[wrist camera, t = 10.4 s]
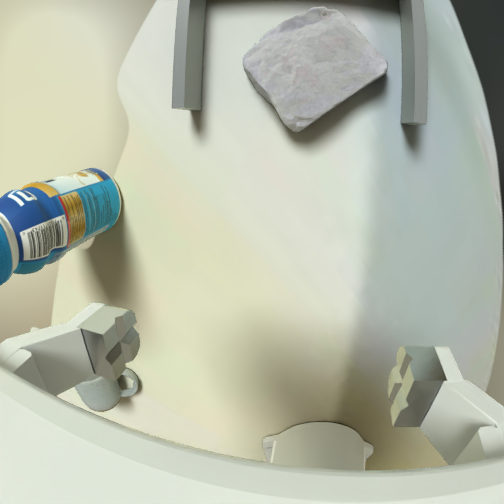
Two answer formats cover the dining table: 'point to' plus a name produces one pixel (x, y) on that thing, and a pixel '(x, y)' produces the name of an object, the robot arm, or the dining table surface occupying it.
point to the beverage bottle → (54, 219)
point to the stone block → (312, 65)
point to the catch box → (192, 43)
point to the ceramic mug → (104, 391)
